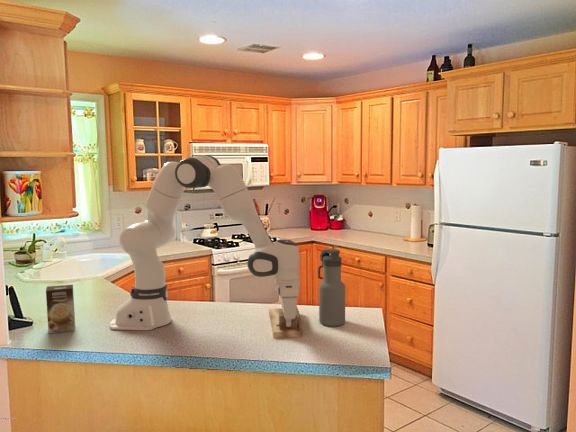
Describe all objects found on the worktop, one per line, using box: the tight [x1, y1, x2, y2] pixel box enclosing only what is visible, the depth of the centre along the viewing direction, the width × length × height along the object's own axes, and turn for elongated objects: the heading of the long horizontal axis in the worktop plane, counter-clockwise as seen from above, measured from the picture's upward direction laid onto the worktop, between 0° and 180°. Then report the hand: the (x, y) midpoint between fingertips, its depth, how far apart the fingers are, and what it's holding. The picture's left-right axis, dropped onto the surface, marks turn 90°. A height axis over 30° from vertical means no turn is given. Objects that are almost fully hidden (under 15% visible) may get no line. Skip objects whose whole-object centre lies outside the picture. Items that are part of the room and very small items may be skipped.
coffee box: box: [45, 284, 76, 334], centre depth 183 cm, size 9×6×16 cm
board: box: [268, 307, 304, 339], centre depth 186 cm, size 11×26×4 cm, turn 5°
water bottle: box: [317, 248, 346, 327], centre depth 186 cm, size 10×10×28 cm
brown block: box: [276, 313, 297, 330], centre depth 177 cm, size 7×4×5 cm, turn 95°
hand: (287, 323), depth 177 cm, fingers closed on brown block, 4 cm apart
